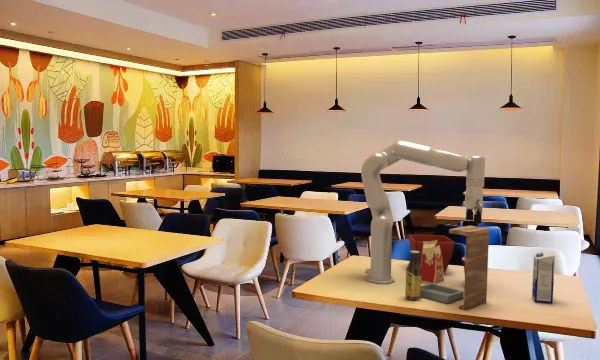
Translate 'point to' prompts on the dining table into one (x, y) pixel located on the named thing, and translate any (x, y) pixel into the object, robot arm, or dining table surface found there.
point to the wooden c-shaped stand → (475, 265)
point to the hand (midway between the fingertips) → (473, 221)
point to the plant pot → (443, 241)
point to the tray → (441, 293)
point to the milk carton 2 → (543, 278)
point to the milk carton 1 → (431, 263)
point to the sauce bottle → (413, 277)
